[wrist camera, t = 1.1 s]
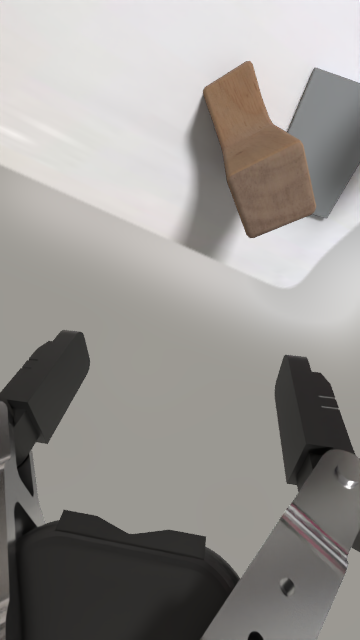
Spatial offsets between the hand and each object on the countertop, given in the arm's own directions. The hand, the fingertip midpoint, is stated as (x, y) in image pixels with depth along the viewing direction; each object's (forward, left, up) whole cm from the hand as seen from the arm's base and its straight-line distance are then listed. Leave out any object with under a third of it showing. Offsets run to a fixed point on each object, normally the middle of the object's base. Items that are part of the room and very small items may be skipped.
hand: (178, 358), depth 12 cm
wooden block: (+2, +6, -29) cm, 30 cm away
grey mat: (+12, +6, -29) cm, 32 cm away
